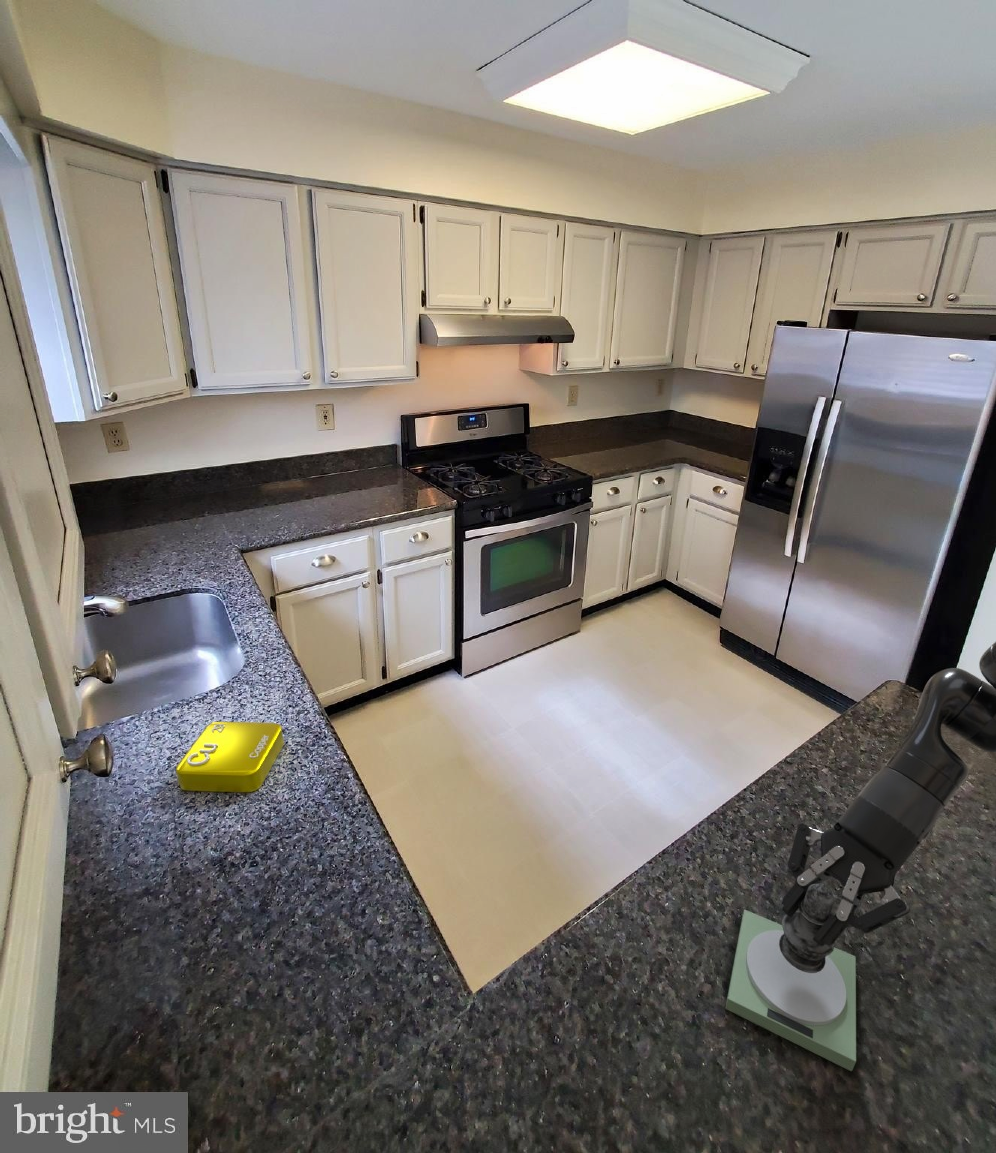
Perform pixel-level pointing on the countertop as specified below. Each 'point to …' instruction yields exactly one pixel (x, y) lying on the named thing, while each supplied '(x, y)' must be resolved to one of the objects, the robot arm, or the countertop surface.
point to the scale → (794, 993)
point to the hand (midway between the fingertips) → (802, 927)
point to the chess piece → (807, 930)
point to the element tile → (230, 757)
